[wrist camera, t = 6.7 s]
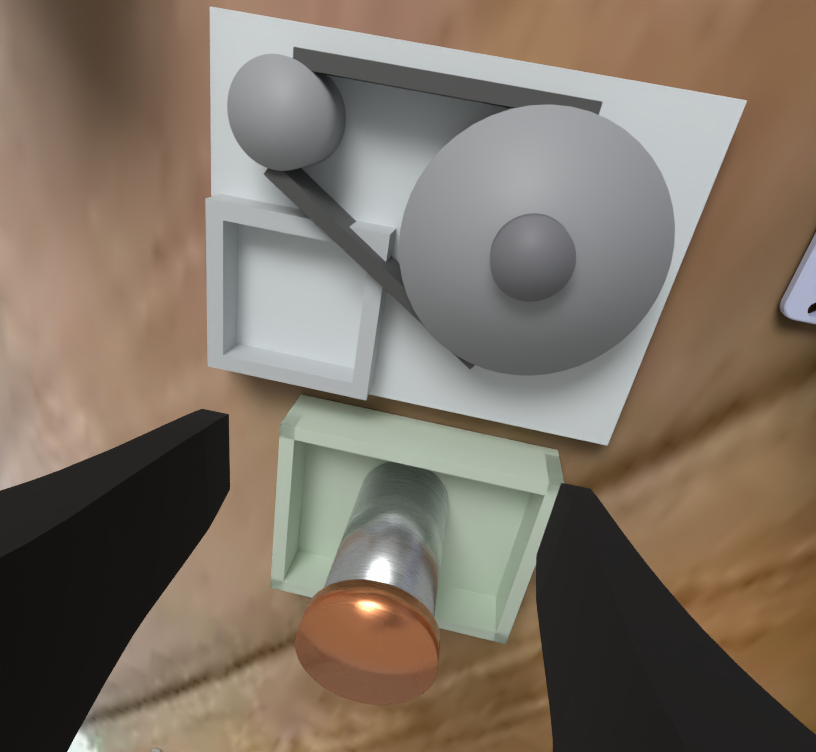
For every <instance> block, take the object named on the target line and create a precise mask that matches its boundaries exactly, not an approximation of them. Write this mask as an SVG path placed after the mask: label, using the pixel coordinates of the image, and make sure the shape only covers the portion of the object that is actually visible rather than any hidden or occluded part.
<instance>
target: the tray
mask: <svg viewBox="0 0 816 752" xmlns="http://www.w3.org/2000/svg"><path fill="white" fill-rule="evenodd" d="M387 462H396V463H401V464H405V465H410V466H414V467H419V468H423V469H428V470H430V471H432V472H433V473H434V474H435V475H436V476H437V477H438V478H439V479H440V480H441V481H442V483H443V484H444V486H445V488H446V491H447V494H448V509H447V517H446V525H445V533H444V541H443V550H442V558H441V566H440V574H439V582H438V590H437V598H436V606H435V614H434V618H435V620H436V622H437V624H438V627H439V628H441V629H445V630H449V631H454V632H458V633H462V634H466V635H470V636H474V637H479V638H483V639H487V640H491V641H495V642H499V643H504V644H506V642H507V639H508V637H509V634H510V631H511V629H512V626H513V623H514V621H515V618H516V615H517V613H518V610H519V607H520V605H521V602H522V599H523V597H524V594H525V591H526V589H527V586H528V583H529V581H530V578H531V575H532V573H533V570H534V568H535V565H536V555H537V552H538V549H539V546H540V543H541V540H542V537H543V534H544V531H545V529H546V526H547V523H548V520H549V517H550V514H551V511H552V508H553V505H554V502H555V499H556V497H557V494H558V491H559V488H560V485H561V483H564V480H563V475H562V469H561V464H560V459H559V454H558V450H555V449H551V448H546V447H542V446H537V445H532V444H528V443H523V442H519V441H514V440H509V439H505V438H500V437H496V436H491V435H486V434H482V433H477V432H472V431H468V430H463V429H459V428H454V427H449V426H445V425H440V424H436V423H431V422H426V421H422V420H417V419H413V418H408V417H403V416H399V415H394V414H390V413H385V412H380V411H376V410H371V409H367V408H362V407H357V406H353V405H348V404H344V403H339V402H334V401H330V400H325V399H321V398H316V397H311V396H307V395H302V394H301V395H300V397H299V398H298V399H297V401H296V402H295V404H294V405H293V407H292V408H291V409H290V411H289V412H288V414H287V415H286V417H285V418H284V419H283V421H282V422H281V424H280V438H279V455H278V471H277V488H276V504H275V521H274V538H273V554H272V571H271V588H274V589H278V590H283V591H287V592H291V593H295V594H299V595H303V596H308V597H313V596H314V595H315V594H316V593H317V592H318V591H320V590H321V589H323V588H324V585H325V583H326V580H327V577H328V575H329V572H330V569H331V567H332V564H333V561H334V558H335V556H336V553H337V550H338V548H339V545H340V542H341V540H342V537H343V534H344V531H345V529H346V526H347V523H348V521H349V518H350V515H351V513H352V510H353V507H354V504H355V502H356V499H357V496H358V494H359V491H360V488H361V486H362V483H363V481H364V479H365V477H366V476H367V474H368V473H369V472H370V471H371V470H372V469H374V468H375V467H377V466H379V465H381V464H384V463H387Z"/></svg>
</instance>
